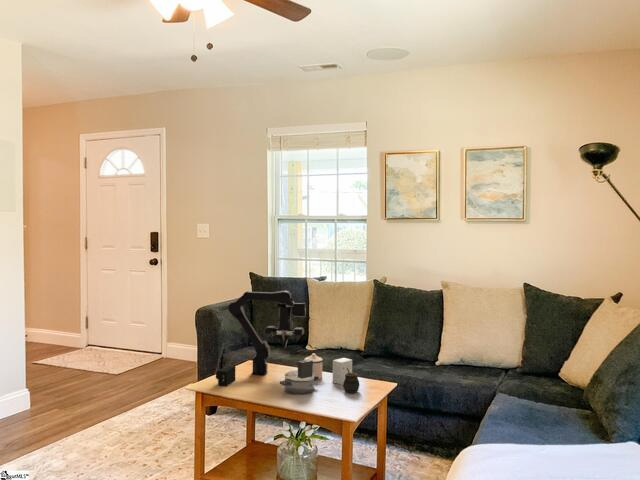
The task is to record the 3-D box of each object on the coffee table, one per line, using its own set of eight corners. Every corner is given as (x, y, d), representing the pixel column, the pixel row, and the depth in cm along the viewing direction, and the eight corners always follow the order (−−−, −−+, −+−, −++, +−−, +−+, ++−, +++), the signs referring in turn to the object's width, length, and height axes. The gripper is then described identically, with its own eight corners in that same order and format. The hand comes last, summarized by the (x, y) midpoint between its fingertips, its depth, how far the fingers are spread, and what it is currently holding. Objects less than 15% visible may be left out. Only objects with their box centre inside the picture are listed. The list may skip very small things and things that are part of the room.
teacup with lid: (326, 377, 266) (326, 353, 266) (315, 381, 258) (315, 357, 258) (306, 372, 273) (306, 349, 272) (295, 377, 265) (295, 353, 265)
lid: (279, 376, 246) (279, 358, 245) (302, 371, 254) (302, 354, 254) (296, 383, 235) (296, 364, 235) (320, 378, 244) (320, 360, 243)
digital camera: (224, 379, 260) (224, 364, 259) (235, 380, 258) (235, 365, 258) (215, 385, 250) (215, 370, 249) (226, 386, 248) (226, 371, 248)
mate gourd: (350, 395, 239) (350, 372, 238) (339, 391, 245) (339, 369, 244) (362, 392, 243) (362, 370, 243) (351, 388, 249) (351, 366, 249)
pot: (273, 390, 244) (274, 378, 244) (306, 382, 256) (307, 371, 256) (291, 397, 234) (291, 385, 234) (324, 389, 246) (324, 377, 246)
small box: (343, 379, 263) (344, 357, 263) (352, 381, 259) (352, 359, 259) (332, 382, 258) (332, 360, 257) (340, 384, 254) (341, 362, 253)
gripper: (306, 314, 275) (306, 345, 276) (271, 312, 279) (270, 343, 279) (301, 318, 264) (301, 350, 265) (264, 316, 268) (264, 348, 269)
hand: (284, 347), depth 270 cm, fingers closed
